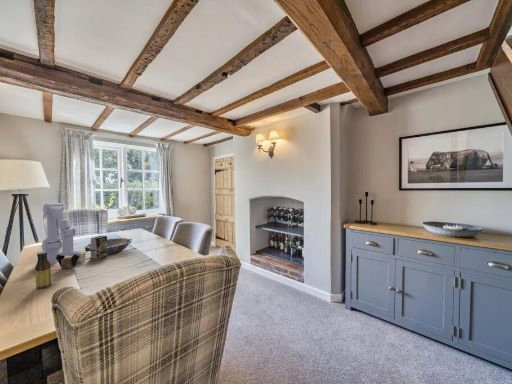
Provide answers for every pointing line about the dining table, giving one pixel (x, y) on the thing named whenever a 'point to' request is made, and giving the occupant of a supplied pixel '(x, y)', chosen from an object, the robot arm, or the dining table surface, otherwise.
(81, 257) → the birch block
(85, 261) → the board
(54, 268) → the terracotta pad
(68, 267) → the walnut block
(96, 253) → the coffee box
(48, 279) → the sauce bottle
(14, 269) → the dining table surface
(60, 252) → the robot arm
